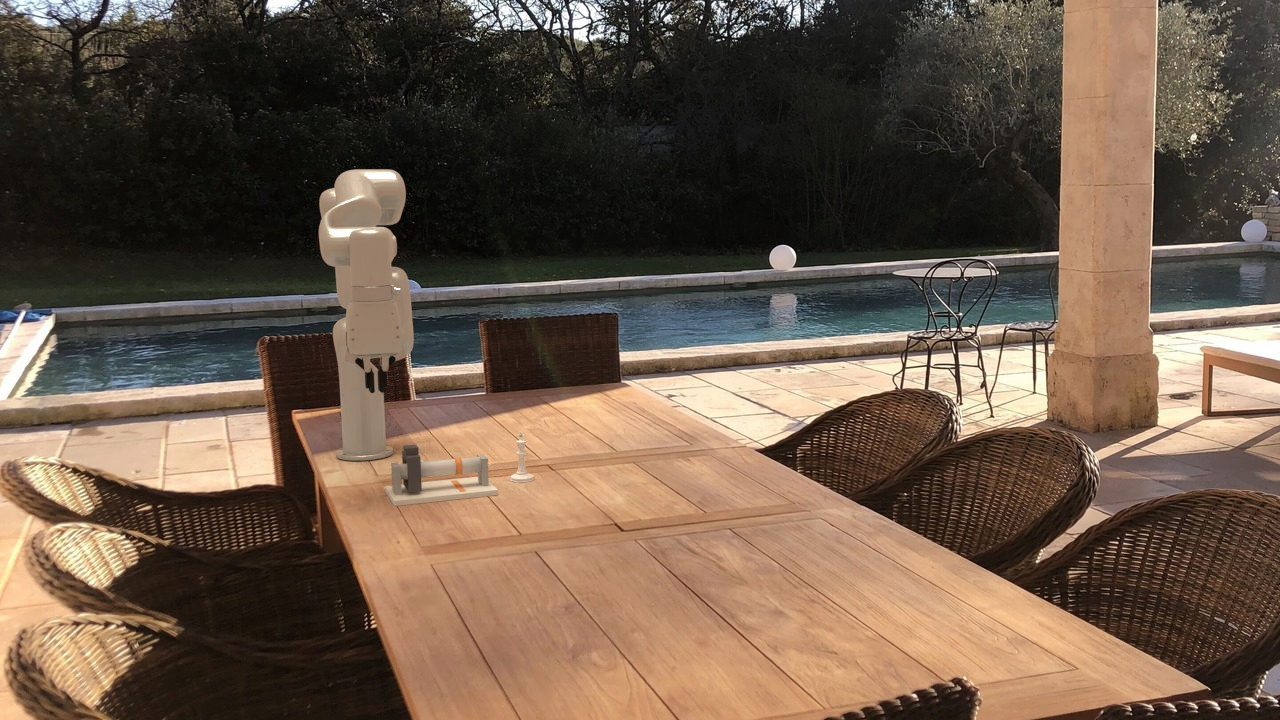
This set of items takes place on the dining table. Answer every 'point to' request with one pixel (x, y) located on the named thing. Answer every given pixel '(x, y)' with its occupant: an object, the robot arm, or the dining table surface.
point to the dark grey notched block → (412, 468)
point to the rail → (442, 481)
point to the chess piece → (521, 464)
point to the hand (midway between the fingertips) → (376, 391)
